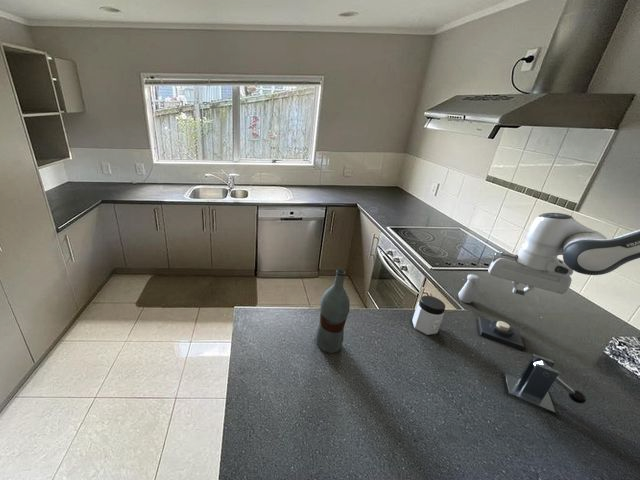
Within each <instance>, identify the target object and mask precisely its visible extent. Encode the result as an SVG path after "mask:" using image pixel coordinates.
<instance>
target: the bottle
mask: <svg viewBox="0 0 640 480" xmlns="http://www.w3.org/2000/svg"><path fill="white" fill-rule="evenodd" d="M335 272H336V273H335V279H334V284H333V285H331V286H330V287H329V288H328V289H326V290H325V291H324V293H323V295H322V297H321V299H320V300H321V301H320V312H319V321H318V324H317V328H316V331H315V343H316V345H317V347H318V348H319V349H320V350H321V351H323V352H325V353H328V354H329V353H330V354H331V353H337V352H339V350H340V349H341V347H342V345H343V343H344V335H345V334H344V332H345V325H346V322H347V319H348V315H349V313H350V306H351V303H350V297H349V295H348V293H347V291H346V289H345V287H344V283H345V282H344V281H345V276H346V270H344V269H341V268H338V269H337V270H336V271H335Z"/></svg>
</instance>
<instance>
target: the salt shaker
mask: <svg viewBox="0 0 640 480" xmlns="http://www.w3.org/2000/svg"><path fill="white" fill-rule="evenodd" d="M466 278H467V281H466V282H465V284H463V286H462V288H461V289H460V290H459V292H458V298H459V301H461V302H463V303H464V304H471V303H472V302H474V301H475V298H476V290H477V284H479V283H480V280H481V278H480V276H478V275H476V274H467V277H466Z"/></svg>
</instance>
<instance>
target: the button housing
mask: <svg viewBox="0 0 640 480" xmlns="http://www.w3.org/2000/svg"><path fill="white" fill-rule="evenodd" d="M498 321H499V320H490V319H487V318H484V317H481V316H479V318H478V320H477V322H478V323H477V324H478V330H479V336H480V337H482V338H486V339H488V340H491V341H494V342H497V343H499V344H502V345H505V346H508V347H510V348H514V349H516V350H519V351H523V350H524V348H525V345H524V341H523V339H522V336H521V333H520V329H518V328H514V327H513V326H512V327H511V326H510V328H509V330H508V331H503V330H501V329H499V328H497V327H496V324H497V322H498Z"/></svg>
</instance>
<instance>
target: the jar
mask: <svg viewBox="0 0 640 480" xmlns="http://www.w3.org/2000/svg"><path fill="white" fill-rule="evenodd" d="M445 310H446V304H445V302H443V301H442V300H441V299H440V298H437V297H436V296H432V295H422V296H421V297H420V298H419V301H418V302H417V304H416V307H415V310H414V313H413V316H412V319H411V321H412V325H413V328H414V329H415V330H417V331H419V332H421V333H423V334H424V335H426V336H429V335H436V334H438V332H439V329H440V327H441V325H442V322H443V319H444V316H445Z"/></svg>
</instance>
